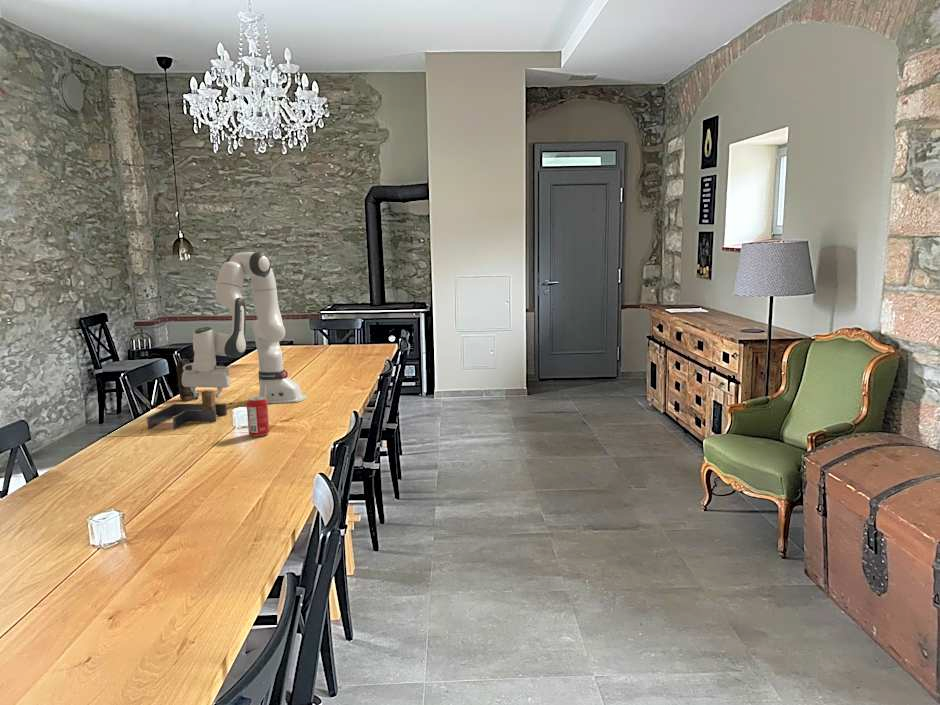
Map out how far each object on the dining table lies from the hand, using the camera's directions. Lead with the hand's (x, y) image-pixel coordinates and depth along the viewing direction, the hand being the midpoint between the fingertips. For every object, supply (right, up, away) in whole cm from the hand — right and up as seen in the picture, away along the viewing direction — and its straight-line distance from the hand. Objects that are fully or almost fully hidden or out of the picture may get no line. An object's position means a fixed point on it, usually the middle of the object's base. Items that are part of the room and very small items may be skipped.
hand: (207, 397), depth 313 cm
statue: (-23, -4, +38) cm, 45 cm away
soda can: (+30, -14, -25) cm, 41 cm away
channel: (-7, -10, -2) cm, 12 cm away
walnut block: (+1, -9, +2) cm, 10 cm away
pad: (-13, -11, -9) cm, 20 cm away
